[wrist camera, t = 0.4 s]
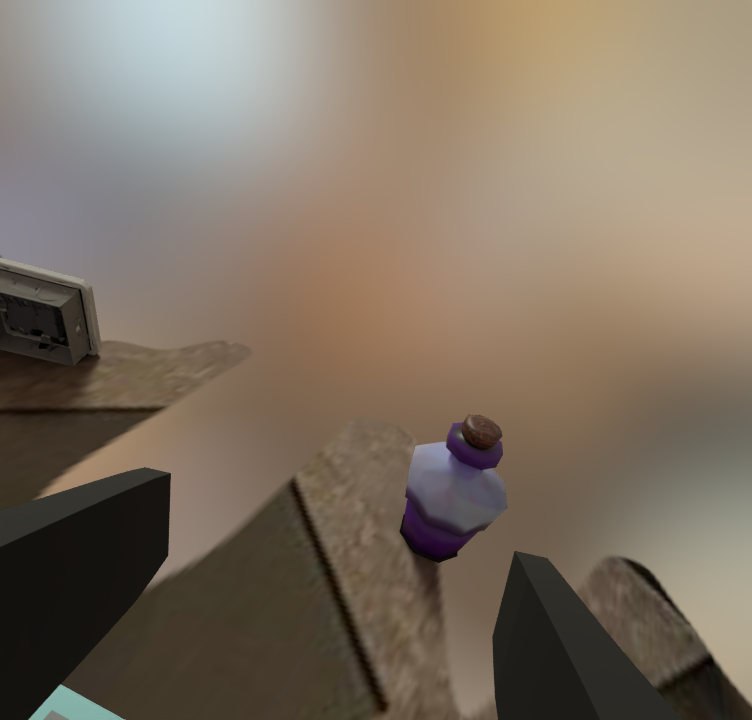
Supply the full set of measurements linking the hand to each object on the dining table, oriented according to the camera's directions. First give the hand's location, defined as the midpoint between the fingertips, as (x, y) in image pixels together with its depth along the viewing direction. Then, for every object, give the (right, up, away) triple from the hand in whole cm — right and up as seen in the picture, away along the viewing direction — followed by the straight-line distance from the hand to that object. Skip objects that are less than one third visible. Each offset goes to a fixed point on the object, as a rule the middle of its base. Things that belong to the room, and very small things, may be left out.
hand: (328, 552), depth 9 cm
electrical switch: (-33, +4, +35) cm, 48 cm away
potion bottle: (+6, -12, +29) cm, 32 cm away
